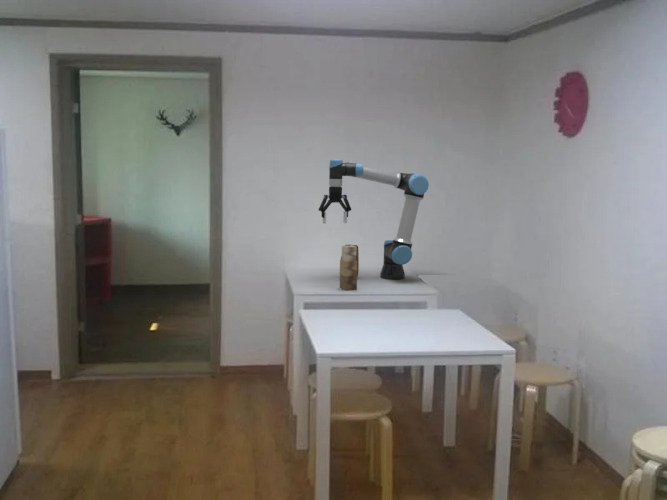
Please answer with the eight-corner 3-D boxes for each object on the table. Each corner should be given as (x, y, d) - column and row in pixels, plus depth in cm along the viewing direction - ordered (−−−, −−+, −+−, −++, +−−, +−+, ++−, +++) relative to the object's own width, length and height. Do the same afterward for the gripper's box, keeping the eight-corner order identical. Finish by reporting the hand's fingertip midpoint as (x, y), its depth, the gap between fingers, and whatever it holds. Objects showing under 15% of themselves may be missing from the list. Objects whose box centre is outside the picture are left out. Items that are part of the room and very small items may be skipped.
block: (357, 276, 444) (358, 244, 441) (358, 278, 436) (359, 246, 434) (339, 276, 443) (340, 244, 440) (340, 278, 436) (341, 245, 433)
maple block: (350, 259, 405) (351, 245, 404) (356, 261, 400) (356, 246, 399) (341, 260, 403) (341, 245, 401) (346, 261, 397) (346, 247, 396)
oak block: (350, 273, 407) (351, 259, 406) (356, 275, 401) (357, 261, 400) (339, 274, 404) (340, 260, 403) (345, 276, 397) (345, 261, 396)
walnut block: (350, 287, 408) (351, 273, 407) (356, 289, 402) (357, 275, 401) (339, 288, 405) (340, 274, 404) (345, 290, 399) (346, 276, 398)
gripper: (351, 185, 425) (350, 221, 428) (313, 186, 414) (312, 222, 416) (357, 186, 418) (356, 223, 421) (319, 186, 407) (318, 224, 410)
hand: (334, 223), depth 419 cm, fingers open, 13 cm apart
